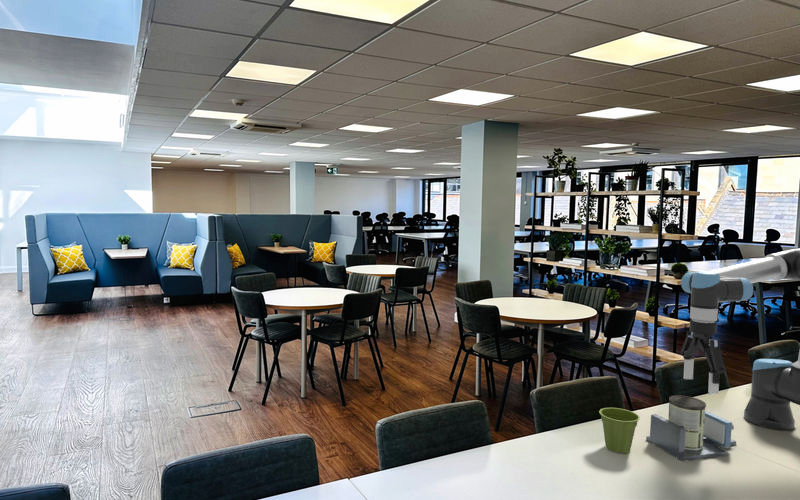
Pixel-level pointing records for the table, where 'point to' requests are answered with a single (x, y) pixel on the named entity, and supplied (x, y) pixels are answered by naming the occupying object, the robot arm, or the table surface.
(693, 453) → the vise base
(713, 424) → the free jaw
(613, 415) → the plant pot
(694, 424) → the coffee can
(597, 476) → the table surface
